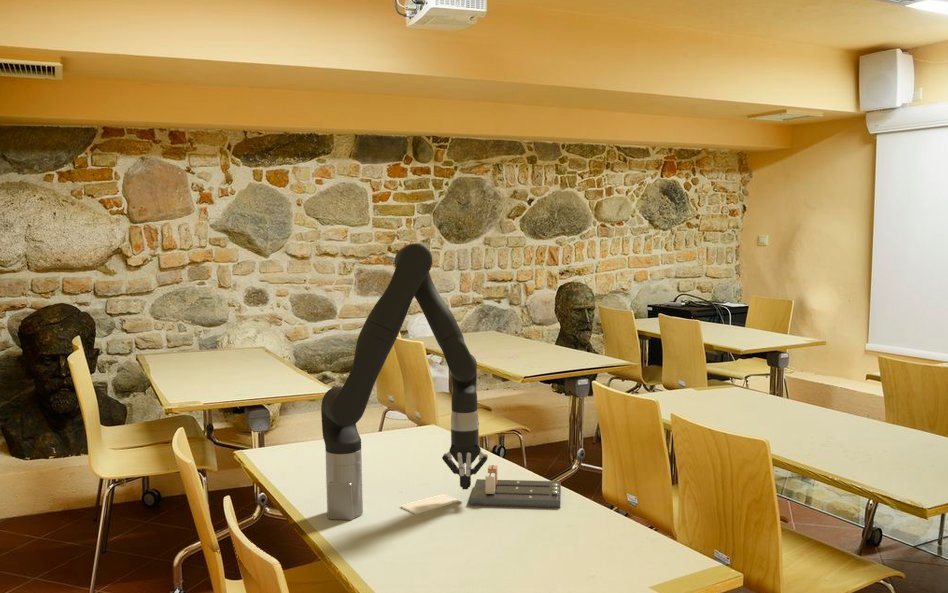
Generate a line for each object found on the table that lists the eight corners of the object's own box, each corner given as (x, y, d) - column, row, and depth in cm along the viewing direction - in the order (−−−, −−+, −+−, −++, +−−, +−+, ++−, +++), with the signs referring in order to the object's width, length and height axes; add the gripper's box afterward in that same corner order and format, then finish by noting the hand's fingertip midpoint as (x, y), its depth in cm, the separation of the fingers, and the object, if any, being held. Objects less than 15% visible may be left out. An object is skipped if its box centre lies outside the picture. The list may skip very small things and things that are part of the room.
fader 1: (496, 485, 225) (496, 468, 225) (488, 485, 225) (487, 467, 225) (497, 482, 228) (497, 464, 228) (489, 481, 228) (488, 464, 228)
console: (560, 507, 213) (560, 497, 213) (470, 505, 216) (470, 495, 216) (560, 488, 229) (560, 478, 229) (476, 486, 232) (476, 476, 232)
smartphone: (460, 500, 219) (415, 512, 210) (460, 503, 219) (415, 515, 210) (443, 493, 225) (399, 505, 216) (443, 496, 225) (399, 508, 216)
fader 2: (494, 493, 218) (494, 475, 218) (485, 493, 219) (485, 475, 218) (495, 490, 221) (495, 472, 221) (486, 490, 221) (486, 472, 221)
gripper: (438, 429, 216) (439, 492, 218) (487, 430, 215) (488, 493, 216) (442, 422, 223) (443, 483, 225) (490, 423, 222) (490, 484, 224)
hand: (465, 488), depth 221 cm, fingers closed
